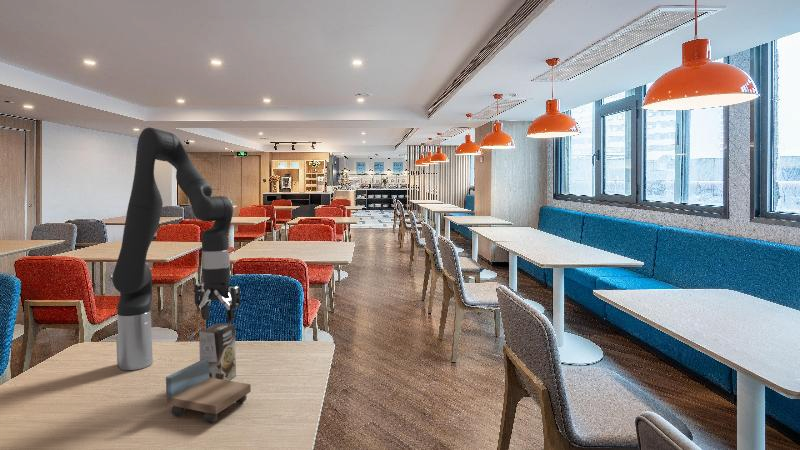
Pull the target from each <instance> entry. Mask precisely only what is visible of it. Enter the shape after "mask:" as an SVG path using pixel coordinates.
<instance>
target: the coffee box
mask: <svg viewBox="0 0 800 450" xmlns="http://www.w3.org/2000/svg"><path fill="white" fill-rule="evenodd" d="M198 332H199V333H198V334H199V335H198V336H199V337H198V338H199V361H201V360H203V359H208V360H209V377H210V378H216V379H222V380H228V381H232V379H234V378H235V377H236V376H237V358H236V357H237V356H236V355H237V354H236V348H237V346H236V324H235V323H217V322H216V323H214V324H212V325H211V326H208V327H206V328H204V329H202V330H199V331H198Z"/></svg>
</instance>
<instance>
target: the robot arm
mask: <svg viewBox="0 0 800 450" xmlns="http://www.w3.org/2000/svg"><path fill="white" fill-rule="evenodd" d="M136 146H137V147H136V154H135V156H136V157H135V166H134V174H133V181H132V187H131V192H130V197H129V201H128V205H127V210H126V215H125V222H124V227H123V233H122V241H121V247H120V252H119V254H118V257H117V261H116V264H115V266H114V269H113V273H112V276H111V278H112V279H111V280H112V285H113V287H114V288H115V290H117V291H118V292H119V293H120V295H119V296H120V297H119V300H118V303H117V306H116V315H117V317H116V318H117V336H116V338H115V341H116V343H115V344H116V363H117V364H116V365H117V367H119V369H121V370H122V371H135V370H140V369H144V368H148V367H150V366H151V365H152V364H154V363H153V362H154V361H153V360H154V359H153V333H152V332H153V331H152V311H151V310H152V309H151V307H152V302H153V301H152V300H153V274H152V270H151V267H150V266H149V265H148V264H147V263H146V261H147V255H148V250H149V248H150V246H151V243H152V241H153V239H154V237H155V234H156V232H157V229H158V227H159V225H160V222H161V215H162V210H163V205H164V204H163V199H162V195H161V193H160V190H159V188H158V185H157V182H156V179H155V163H156V161H161V162H167V163H169V164H170V165H171V166H173V167H174V168H175V170H176V172H175V179H176V183H177V185H178V186H179V188H180V189H181V190H182V192H183V193H184V194H185V196H186V197H187V198H188V200H189V204H190V206H191V209H192V213H193V215H194V216H195V218H196V219H198V220H199V221H202V222H204V223H205V222H214V223H213V226H212V227H211V228H209V229H206V230H204V231H202V233H201V274H202V275H201V277H202V278H201V279H202V282H203V283H198V284H195V285H194V305H196V306H199V307H200V308H201V309H200V313H201V318H202V320H203V321H206V320H209V319H210V317H211V316H210V306H209V305H210V303H211V301H216V302H220V303H221V304H222V305H224V307H225V308H226V310H225V311H226V312H225V313H226V314H225V315H226V323H228V324H231V323H233V322H234V320H235V317H236V316H235V315H236V314H235V313H236V312H235V309H236V308H239V307H241V305H242V303H241V293H240V292H241V291H240V286H239V285H236V286H230V281H231V264H230V263H231V262H230V261H231V260H230V259H231V258H230V253H229V239H228V238H229V237H228V236H229V231H230V227H231V223H232V220H233V215H234V206H233V204H232V201H231V199H230V198H229V197H227V196H222V195H221V196H213V195H212V194H213V189H212V186H211V185H210V183H209V182H208V181H207V180H206V179H205V177H204V176H203V175H202V173H200V171H199V170H198V169H197V167H196V166H195V165H194V162H193V161H192V159H191V158H190V156H189V153H188V152H187V149H186V148H185V146H184V144H183V142H182V141H181V140H180V138H179V137H178V136H177V135H176V134H174V133H172V132H168V131H165V130H162V129H158V128H154V127H146V128H143V130H142V131H141V132H140V135H139V136H138V140H137V145H136Z"/></svg>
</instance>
